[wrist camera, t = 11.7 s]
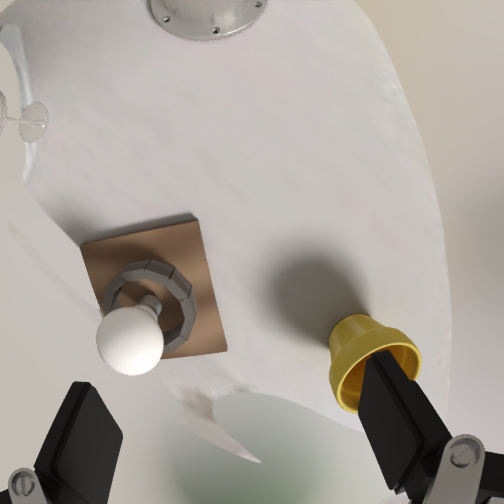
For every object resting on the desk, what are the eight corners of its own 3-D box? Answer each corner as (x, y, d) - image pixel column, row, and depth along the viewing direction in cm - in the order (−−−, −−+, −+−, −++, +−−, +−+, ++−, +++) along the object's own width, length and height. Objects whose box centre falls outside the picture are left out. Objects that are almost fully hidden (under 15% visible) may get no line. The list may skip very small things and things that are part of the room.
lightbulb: (123, 317, 33) (85, 374, 22) (130, 269, 31) (85, 319, 21) (173, 333, 34) (150, 398, 23) (184, 287, 32) (159, 345, 21)
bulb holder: (83, 243, 31) (67, 254, 27) (198, 219, 31) (193, 228, 27) (125, 357, 36) (116, 376, 32) (227, 346, 36) (227, 366, 32)
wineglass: (49, 150, 27) (-20, 155, 16) (11, 149, 26) (-56, 156, 15) (59, 93, 25) (-7, 77, 14) (19, 97, 24) (-46, 87, 13)
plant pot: (333, 291, 35) (365, 336, 25) (399, 307, 36) (437, 347, 27) (302, 360, 37) (320, 413, 28) (366, 368, 39) (392, 414, 30)
